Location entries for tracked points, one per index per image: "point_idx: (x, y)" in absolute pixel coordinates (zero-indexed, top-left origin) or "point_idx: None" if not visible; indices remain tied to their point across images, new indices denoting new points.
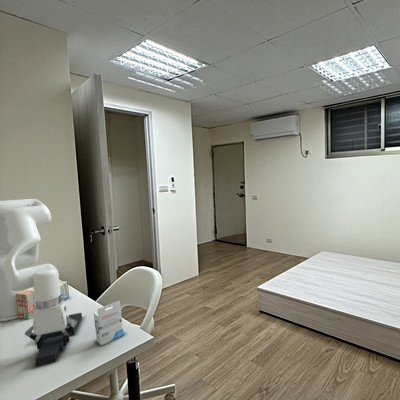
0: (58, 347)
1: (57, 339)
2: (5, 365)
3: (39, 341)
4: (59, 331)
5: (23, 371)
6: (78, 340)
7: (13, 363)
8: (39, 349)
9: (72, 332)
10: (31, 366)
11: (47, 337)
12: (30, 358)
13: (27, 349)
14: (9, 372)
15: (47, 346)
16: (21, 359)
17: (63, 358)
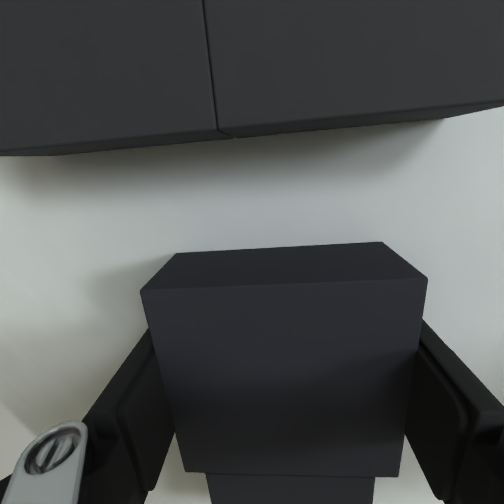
0: (371, 496)
1: (319, 369)
2: (10, 406)
3: (137, 499)
4: (270, 119)
5: (179, 496)
6: (500, 279)
7: (51, 405)
8: (191, 471)
9: (453, 112)
10: (203, 474)
11: (115, 147)
12: None
13: (18, 252)
14: None
15: (252, 458)
16: (77, 381)
17: (394, 477)
